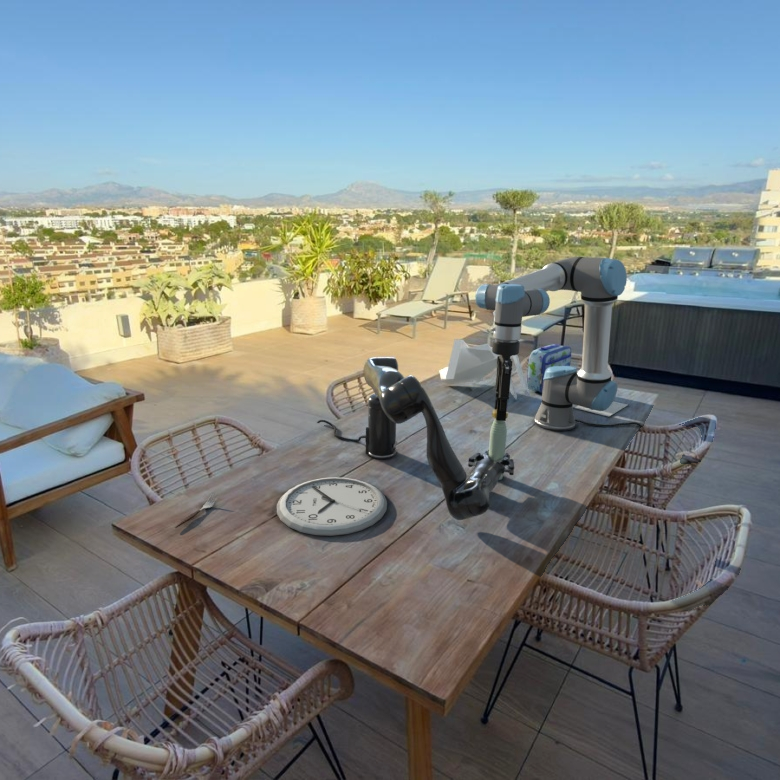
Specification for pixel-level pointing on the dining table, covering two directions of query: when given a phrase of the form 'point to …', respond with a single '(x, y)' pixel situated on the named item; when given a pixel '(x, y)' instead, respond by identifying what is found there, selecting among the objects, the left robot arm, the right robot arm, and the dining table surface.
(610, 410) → the invitation card
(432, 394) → the dining table surface
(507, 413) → the cap
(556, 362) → the lunch box
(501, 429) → the bottle
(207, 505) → the fork
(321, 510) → the wall clock
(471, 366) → the white plastic object
